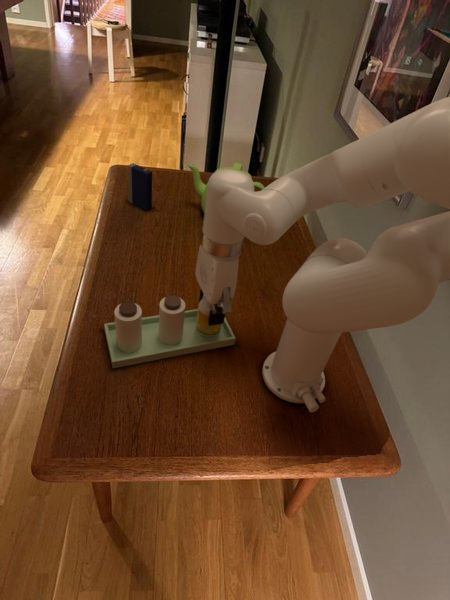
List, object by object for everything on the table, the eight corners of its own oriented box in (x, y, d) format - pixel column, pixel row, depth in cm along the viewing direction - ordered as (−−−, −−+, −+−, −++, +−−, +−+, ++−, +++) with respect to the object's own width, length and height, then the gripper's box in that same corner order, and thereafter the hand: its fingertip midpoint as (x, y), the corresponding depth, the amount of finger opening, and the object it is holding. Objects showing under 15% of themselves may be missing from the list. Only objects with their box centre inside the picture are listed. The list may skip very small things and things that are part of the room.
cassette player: (152, 208, 121) (152, 170, 113) (146, 211, 119) (147, 173, 111) (133, 199, 123) (133, 161, 115) (128, 201, 122) (127, 164, 114)
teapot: (267, 222, 124) (278, 178, 114) (213, 235, 114) (219, 189, 105) (234, 194, 135) (241, 152, 125) (181, 203, 125) (185, 159, 116)
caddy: (218, 311, 92) (219, 305, 90) (234, 344, 85) (235, 338, 83) (104, 330, 83) (103, 323, 81) (112, 368, 76) (112, 362, 75)
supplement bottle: (195, 319, 88) (199, 286, 82) (219, 320, 89) (225, 287, 82) (196, 337, 84) (200, 304, 78) (221, 338, 85) (227, 305, 78)
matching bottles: (185, 342, 83) (189, 307, 76) (118, 355, 78) (116, 319, 71) (178, 325, 86) (181, 290, 79) (114, 336, 81) (111, 300, 75)
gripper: (188, 217, 76) (181, 289, 88) (219, 273, 64) (206, 347, 76) (225, 214, 78) (213, 284, 90) (260, 268, 67) (242, 340, 79)
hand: (210, 312), depth 83 cm, fingers closed on supplement bottle, 5 cm apart
